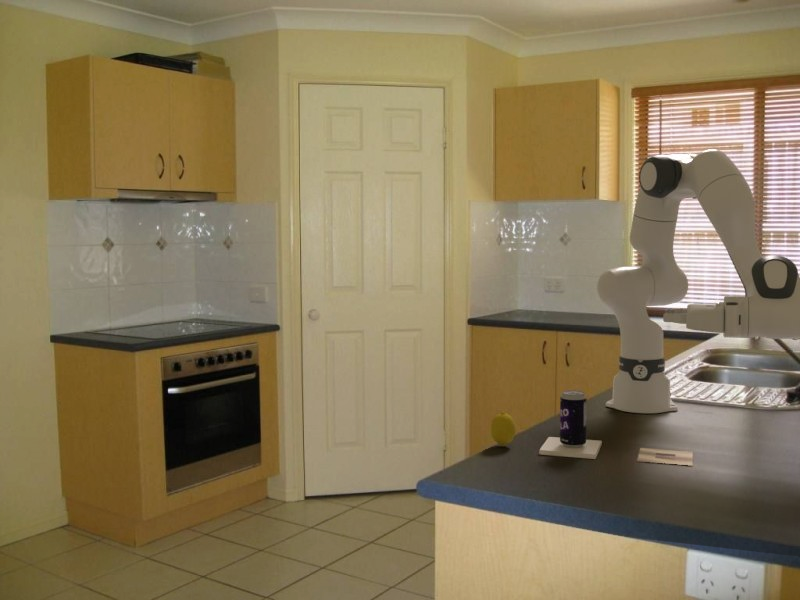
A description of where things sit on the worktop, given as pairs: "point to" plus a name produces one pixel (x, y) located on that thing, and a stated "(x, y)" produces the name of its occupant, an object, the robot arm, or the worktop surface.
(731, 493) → the worktop surface
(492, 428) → the lemon
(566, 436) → the beverage can
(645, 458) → the pad
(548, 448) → the mat
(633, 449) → the worktop surface
